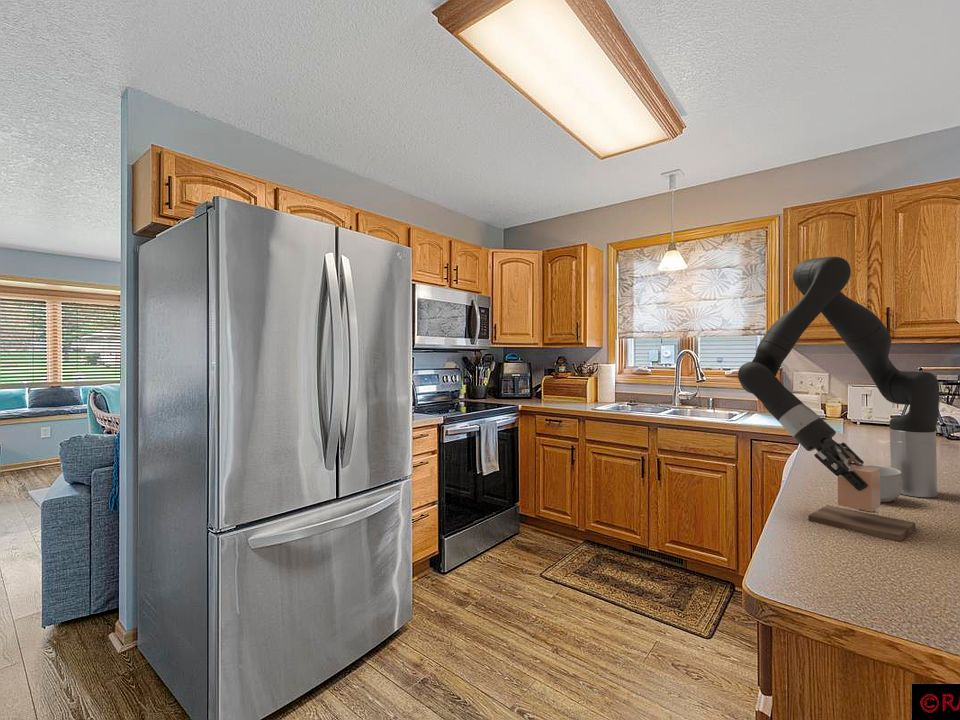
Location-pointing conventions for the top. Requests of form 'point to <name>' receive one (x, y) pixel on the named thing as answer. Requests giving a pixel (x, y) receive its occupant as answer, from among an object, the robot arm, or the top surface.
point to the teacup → (889, 483)
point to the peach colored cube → (864, 498)
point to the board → (863, 522)
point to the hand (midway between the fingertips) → (868, 485)
